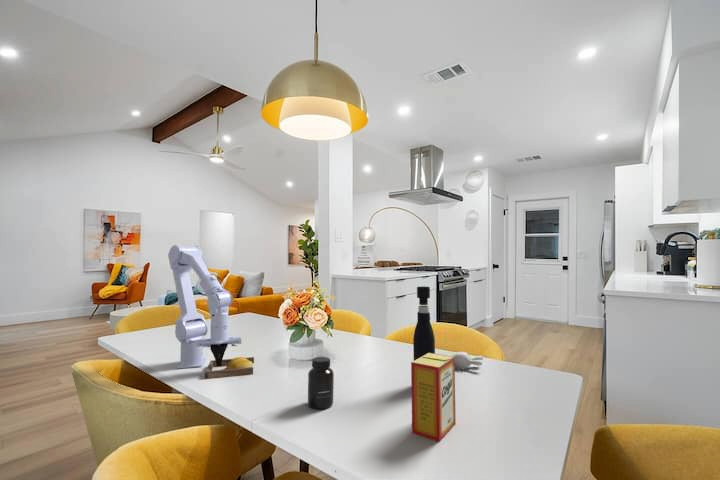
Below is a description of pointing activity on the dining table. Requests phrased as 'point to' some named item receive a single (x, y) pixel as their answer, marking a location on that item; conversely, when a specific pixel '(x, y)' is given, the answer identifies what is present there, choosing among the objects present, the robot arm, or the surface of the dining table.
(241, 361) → the bread roll
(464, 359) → the grey fingered piece
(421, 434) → the baking soda box
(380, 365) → the dining table surface
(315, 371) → the supplement bottle
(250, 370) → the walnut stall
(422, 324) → the wine bottle
